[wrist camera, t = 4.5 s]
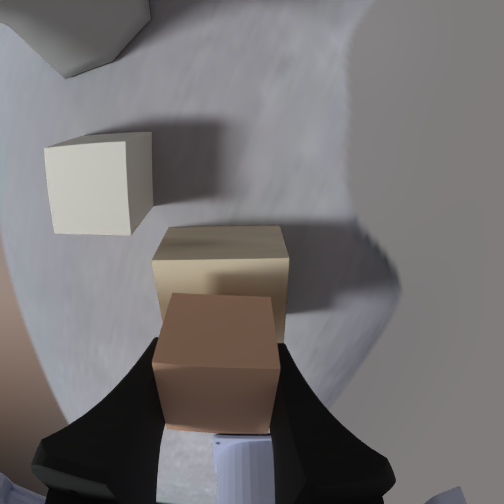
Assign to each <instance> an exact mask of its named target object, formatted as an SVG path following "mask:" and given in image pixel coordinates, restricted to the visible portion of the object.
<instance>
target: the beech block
mask: <svg viewBox="0 0 504 504" xmlns="http://www.w3.org/2000/svg"><path fill="white" fill-rule="evenodd" d="M152 266H153V272H154V278H155V283H156V289H157V295H158V300H159V305H160V310H161V315H162V320H163V322H164V318H165V315H166V312H167V308H168V305H169V302H170V299H171V296H172V293H189V294H208V295H231V296H258V297H271V304H272V311H273V318H274V325H275V332H276V339H277V343H284V332H285V319H286V304H287V289H288V272H289V255H288V252H287V249H286V245H285V242H284V238H283V235H282V232H281V228H280V225H270V226H212V227H174V228H168V230H167V232H166V233H165V235H164V237H163V239H162V241H161V243H160V245H159V247H158V249H157V251H156V253H155V255H154V257H153V259H152Z"/></svg>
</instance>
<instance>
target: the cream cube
mask: <svg viewBox="0 0 504 504" xmlns="http://www.w3.org/2000/svg"><path fill="white" fill-rule="evenodd" d="M44 154H45V166H46V177H47V186H48V194H49V201H50V208H51V215H52V221H53V227H54V233H57V234H96V235H132V234H133V232H134V231H135V230H136V228H137V227H138V226H139V224H140V223H141V222H142V220H143V219H144V218H145V216H146V215H147V214H148V212H149V211H150V210H151V209H152V207H153V182H152V132H128V133H112V134H98V135H86V136H80V137H77V138H74V139H71V140H67V141H64V142H61V143H58V144H55V145H52V146H49V147H46V148H44Z"/></svg>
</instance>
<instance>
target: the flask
mask: <svg viewBox="0 0 504 504" xmlns="http://www.w3.org/2000/svg"><path fill="white" fill-rule="evenodd" d="M150 20H151V16H150V7H149V0H0V22H1V23H3V24H5V25H7V26H9V27H10V28H11V29H12V30H13V31H14V32H16V33H17V34H18V35H19V36H20V37H21V38H22V39H23V41H24V42H25V43H26V44H27V45H28V46H29V47H30V48H31V49H32V50H33V51H34V52H35V53H37V54H38V55H39V56H40V57H41V58H42V59H43V60H44V61H46V62H47V63H48V64H49V65H50V66H51V67H52V68H54V69H55V70H56V71H57V72H58V73H59V74H60V75H62V76H63V77H64V78H65V79H67V78H70V77H72V76H74V75H77V74H79V73H82V72H85V71H87V70H90V69H93V68H95V67H98V66H101V65H104V64H107V63H110V62H112V61H113V60H114V59H115V58H116V57H117V56H118V54H119V53H120V52H121V51H122V50H123V49H124V48H125V46H126V45H127V44H128V43H129V42H130V41H131V40H132V39H133V38H134V36H135V35H136V34H137V33H138V32H139V31H140V30H141V29H142V28H143V27H144V26H145V25H146V24H147V23H148V22H149V21H150Z"/></svg>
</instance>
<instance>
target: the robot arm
mask: <svg viewBox="0 0 504 504" xmlns="http://www.w3.org/2000/svg"><path fill="white" fill-rule="evenodd" d="M158 338H159V337H155V338H154V339H153V340H152V342H151V343H150V345H149V346H148V348H147V349H146V351H145V352H144V353H143V355H142V356H141V357H140V359H139V360H138V361H137V363H136V364H135V365H134V366H133V368H132V369H131V370H130V371H129V372H128V374H127V375H126V376H125V377H124V378H123V379H122V380H121V382H120V383H119V384H118V385H117V386H116V387H115V388H114V389H113V390H112V391H111V392H110V393H109V394H108V395H107V396H106V397H105V398H104V399H103V400H102V401H100V402H99V403H98V404H97V405H96V406H94V407H93V408H92V409H91V410H90V411H88V412H87V413H86V414H84V415H83V416H82V417H80V418H79V419H77V420H76V421H74V422H73V423H71V424H70V425H68V426H67V427H65V428H63V429H62V430H60V431H58V432H56V433H54V434H52V435H50V436H48V437H46V438H44V439H42V440H41V442H40V444H39V446H38V448H37V450H36V453H35V455H34V458H33V461H32V463H31V466H30V467H31V470H32V472H33V473H34V474H35V476H36V477H37V478H38V479H39V480H41V481H42V482H43V483H44V484H45V485H46V486H47V487H48V488H49V490H48V493H47V497H43V496H41V495H39V494H36V493H34V492H31V491H29V490H26V489H24V488H22V487H20V486H18V485H15V484H13V483H12V482H11V481H10V480H9V479H8V478H7V477H6V476H4V475H3V474H1V473H0V504H156V489H157V474H158V462H159V453H160V445H161V439H162V435H163V430H164V426H165V419H164V415H163V411H162V407H161V403H160V399H159V394H158V390H157V385H156V381H155V376H154V371H153V366H152V359H153V356H154V352H155V349H156V345H157V342H158ZM277 346H278V353H279V361H280V368H281V369H280V375H279V380H278V385H277V391H276V396H275V401H274V406H273V411H272V416H271V421H270V426H269V428H270V434H271V436H230V435H215V436H213V452H214V466H215V475H217V498H216V504H384V501H383V497H382V496H383V495H384V494H385V493H387V491H389V490H390V489H391V488H392V487H393V485H394V484H395V482H396V479H395V475H394V472H393V470H392V467H391V465H390V463H389V461H388V459H387V458H386V457H384V456H383V455H381V454H379V453H378V452H376V451H375V450H373V449H371V448H370V447H369V446H367V445H366V444H365V443H363V442H361V440H359V439H358V438H357V437H356V436H354V435H353V434H352V433H351V432H350V431H349V430H347V429H346V428H345V427H344V426H343V425H342V424H341V423H340V422H339V421H338V420H337V419H336V418H335V417H334V416H333V415H332V414H331V413H330V412H329V411H328V410H327V408H326V407H325V406H324V405H323V404H322V403H321V401H320V400H319V399H318V397H317V396H316V395H315V393H314V392H313V391H312V389H311V388H310V387H309V385H308V384H307V382H306V381H305V379H304V377H303V376H302V374H301V373H300V371H299V369H298V368H297V366H296V364H295V362H294V361H293V359H292V357H291V355H290V353H289V351H288V349H287V347H286V345H285V344H284V343H277ZM425 504H467V503H466V501H465V498H464V495H463V493H462V490H461V487H459V486H458V487H456V488H453V489H451V490H448V491H446V492H443V493H440V494H438V495H436V496H434V497H432V498H431V499H429V500H428V501H427V502H426V503H425Z"/></svg>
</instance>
